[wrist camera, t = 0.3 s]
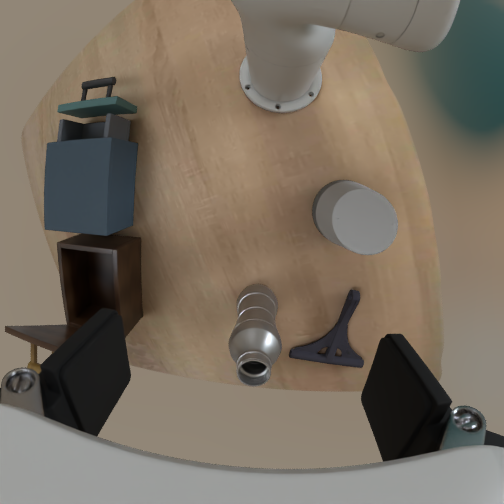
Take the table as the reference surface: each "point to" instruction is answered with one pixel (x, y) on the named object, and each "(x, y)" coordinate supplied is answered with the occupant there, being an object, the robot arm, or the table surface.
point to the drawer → (94, 108)
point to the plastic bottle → (255, 335)
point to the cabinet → (90, 185)
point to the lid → (42, 338)
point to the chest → (101, 277)
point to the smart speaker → (355, 217)
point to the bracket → (334, 340)
